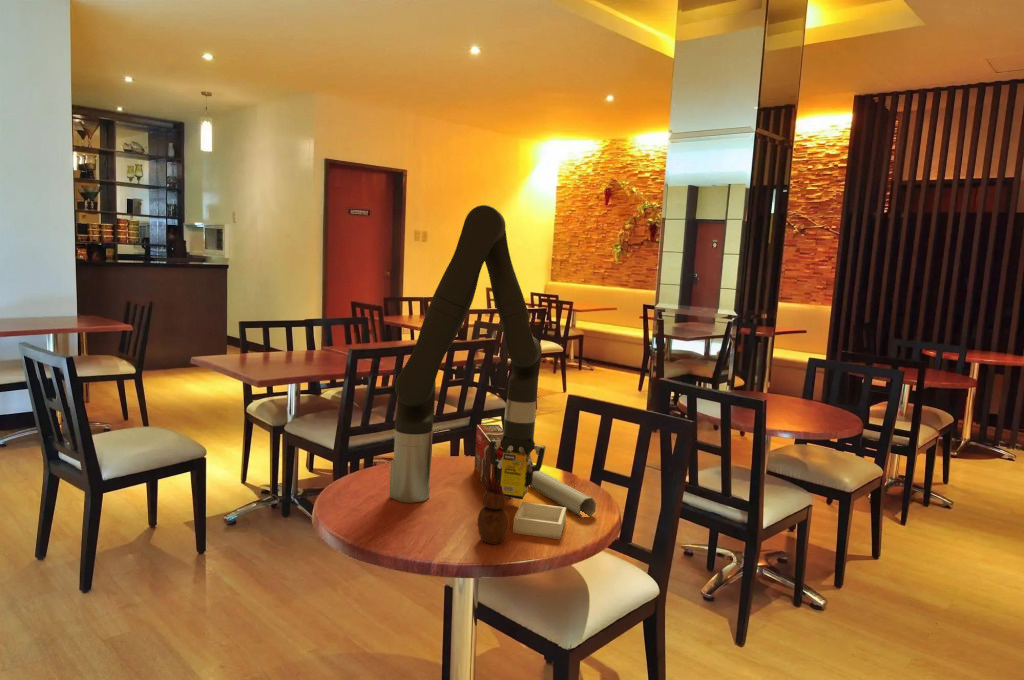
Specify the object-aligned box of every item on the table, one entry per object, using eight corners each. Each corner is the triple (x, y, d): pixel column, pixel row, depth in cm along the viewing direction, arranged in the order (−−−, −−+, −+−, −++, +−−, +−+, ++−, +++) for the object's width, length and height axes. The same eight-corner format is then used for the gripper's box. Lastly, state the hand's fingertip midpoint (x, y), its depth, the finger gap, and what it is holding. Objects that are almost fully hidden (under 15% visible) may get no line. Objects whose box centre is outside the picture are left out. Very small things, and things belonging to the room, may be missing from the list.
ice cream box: (474, 470, 198) (476, 424, 196) (496, 469, 200) (498, 424, 198) (489, 494, 179) (492, 444, 177) (513, 494, 180) (516, 444, 179)
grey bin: (512, 533, 155) (513, 518, 155) (521, 515, 166) (522, 501, 165) (560, 539, 153) (561, 524, 153) (565, 521, 164) (566, 507, 163)
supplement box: (523, 500, 168) (526, 456, 167) (499, 496, 169) (502, 453, 168) (527, 492, 174) (531, 450, 172) (504, 488, 175) (507, 446, 174)
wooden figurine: (472, 537, 151) (475, 471, 150) (494, 532, 155) (498, 467, 153) (489, 549, 146) (493, 480, 144) (511, 544, 149) (515, 476, 147)
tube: (521, 472, 186) (576, 503, 165) (538, 464, 189) (594, 493, 167) (526, 490, 188) (581, 522, 167) (542, 481, 190) (598, 512, 169)
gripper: (487, 417, 167) (482, 484, 169) (546, 425, 164) (540, 493, 166) (494, 411, 174) (489, 475, 176) (551, 418, 171) (545, 483, 173)
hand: (514, 483), depth 171 cm, fingers closed on supplement box, 6 cm apart
